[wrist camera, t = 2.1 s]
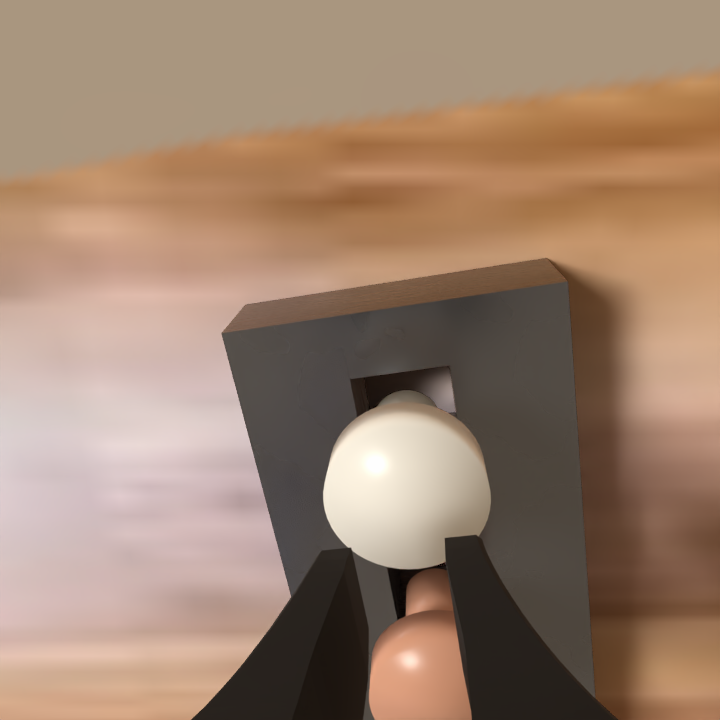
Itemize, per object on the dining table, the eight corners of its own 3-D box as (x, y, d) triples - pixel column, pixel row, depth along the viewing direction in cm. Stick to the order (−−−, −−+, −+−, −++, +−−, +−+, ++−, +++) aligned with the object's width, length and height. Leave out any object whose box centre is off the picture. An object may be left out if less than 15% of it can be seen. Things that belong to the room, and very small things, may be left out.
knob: (481, 470, 20) (499, 561, 16) (353, 485, 20) (339, 576, 16) (465, 349, 18) (481, 415, 14) (329, 368, 19) (308, 437, 15)
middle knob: (501, 634, 22) (522, 750, 18) (386, 643, 23) (381, 758, 19) (489, 537, 21) (508, 639, 17) (366, 549, 21) (357, 651, 17)
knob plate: (581, 717, 27) (600, 785, 25) (351, 732, 29) (344, 799, 26) (546, 258, 21) (568, 281, 18) (245, 304, 22) (221, 333, 19)
